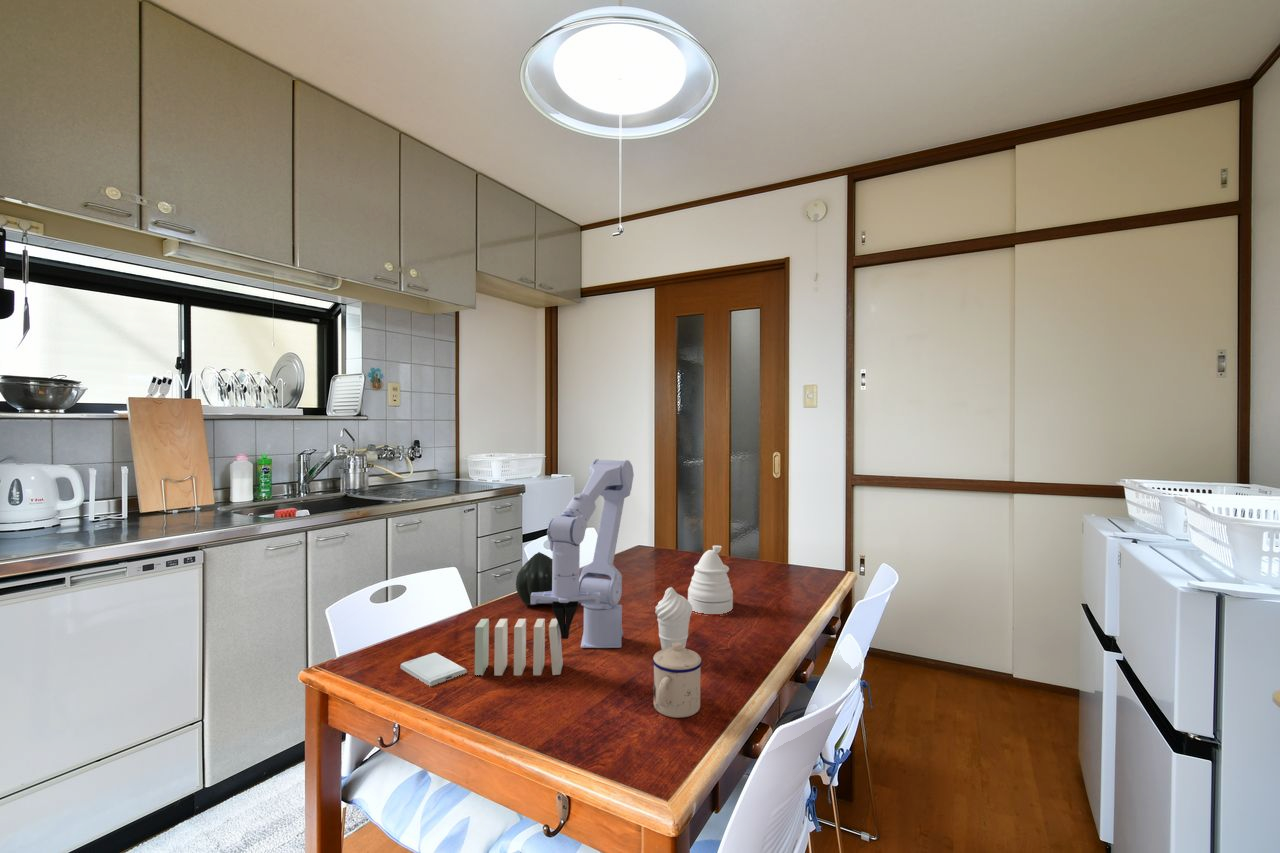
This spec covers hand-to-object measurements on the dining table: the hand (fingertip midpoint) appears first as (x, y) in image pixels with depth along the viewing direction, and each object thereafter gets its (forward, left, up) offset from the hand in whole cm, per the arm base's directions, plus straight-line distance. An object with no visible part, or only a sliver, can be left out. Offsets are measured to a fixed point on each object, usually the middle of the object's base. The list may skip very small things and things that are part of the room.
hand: (565, 637), depth 117 cm
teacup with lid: (-22, +17, -7) cm, 28 cm away
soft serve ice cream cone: (-24, -5, -7) cm, 25 cm away
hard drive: (+28, 0, -8) cm, 29 cm away
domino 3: (+9, 0, -7) cm, 12 cm away
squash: (+11, -45, -7) cm, 47 cm away
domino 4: (+5, 0, -7) cm, 9 cm away
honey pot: (-38, -40, -7) cm, 55 cm away
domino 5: (+1, 0, -7) cm, 7 cm away
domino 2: (+13, 0, -7) cm, 15 cm away
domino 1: (+17, 0, -7) cm, 19 cm away
